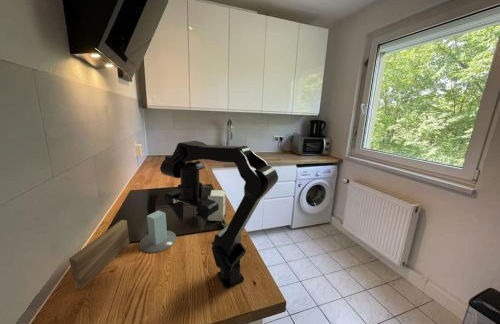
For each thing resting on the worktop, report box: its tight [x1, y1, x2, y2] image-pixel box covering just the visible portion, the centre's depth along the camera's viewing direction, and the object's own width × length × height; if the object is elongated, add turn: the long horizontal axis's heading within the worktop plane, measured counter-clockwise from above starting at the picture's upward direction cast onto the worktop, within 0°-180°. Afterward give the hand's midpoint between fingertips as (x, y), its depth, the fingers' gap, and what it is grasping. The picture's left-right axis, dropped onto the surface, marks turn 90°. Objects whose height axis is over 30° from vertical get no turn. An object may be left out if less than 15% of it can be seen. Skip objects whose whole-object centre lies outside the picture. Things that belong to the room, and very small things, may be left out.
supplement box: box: [207, 189, 226, 222], centre depth 96 cm, size 7×7×13 cm
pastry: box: [220, 215, 234, 228], centre depth 92 cm, size 9×7×4 cm
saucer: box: [138, 230, 177, 254], centre depth 78 cm, size 13×13×1 cm
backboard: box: [68, 219, 130, 290], centre depth 65 cm, size 2×20×10 cm, turn 175°
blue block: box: [146, 209, 167, 245], centre depth 77 cm, size 4×5×11 cm
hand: (191, 225), depth 67 cm, fingers open, 9 cm apart
